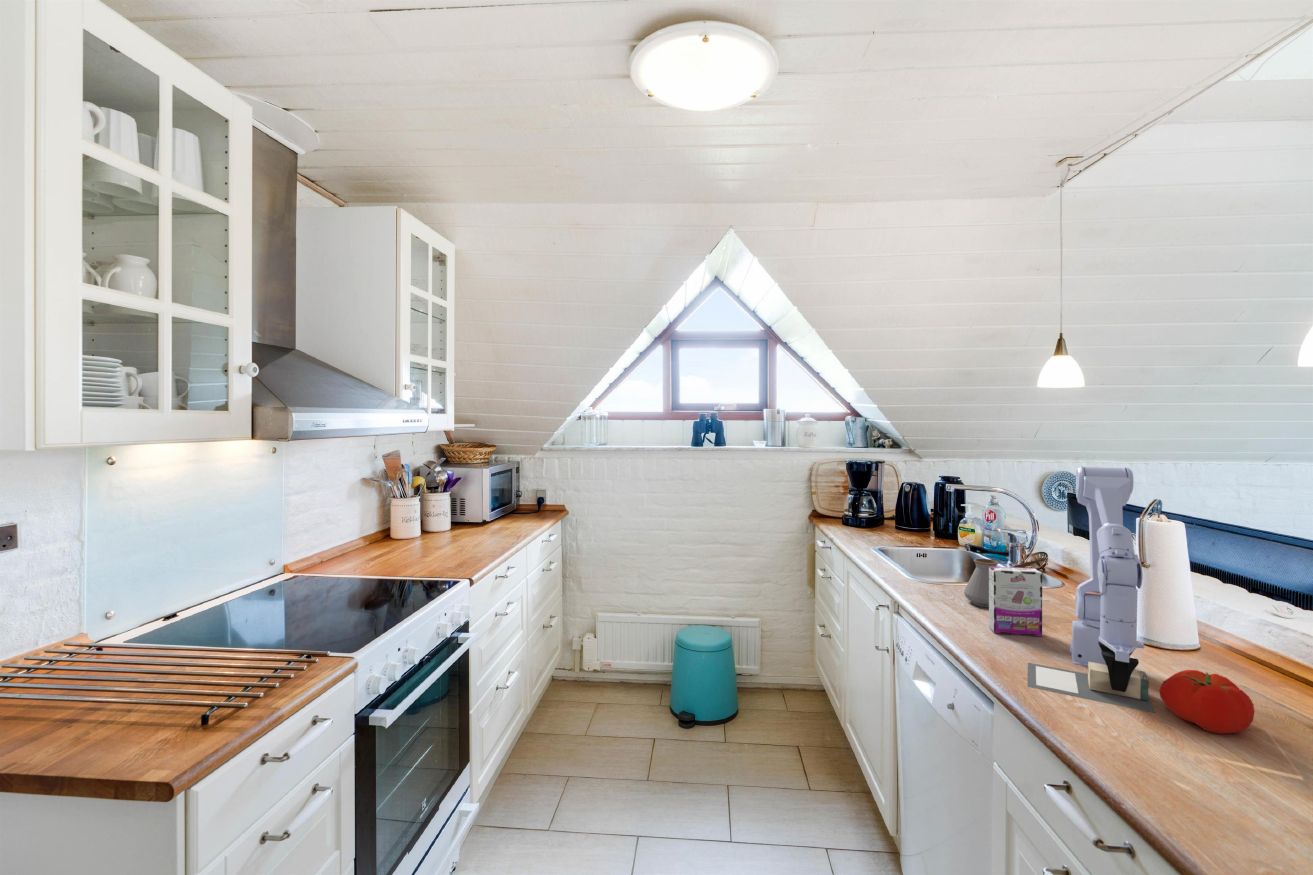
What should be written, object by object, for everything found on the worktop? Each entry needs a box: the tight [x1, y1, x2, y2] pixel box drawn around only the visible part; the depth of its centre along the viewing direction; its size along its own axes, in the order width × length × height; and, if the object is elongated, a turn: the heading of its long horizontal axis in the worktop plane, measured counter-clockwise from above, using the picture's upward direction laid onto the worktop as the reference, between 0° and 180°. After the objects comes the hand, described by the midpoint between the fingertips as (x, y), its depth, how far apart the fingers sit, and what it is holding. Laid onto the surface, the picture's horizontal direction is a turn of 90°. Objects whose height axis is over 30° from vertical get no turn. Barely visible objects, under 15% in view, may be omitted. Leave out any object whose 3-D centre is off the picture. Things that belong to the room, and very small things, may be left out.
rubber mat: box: [1026, 662, 1156, 714], centre depth 119 cm, size 20×14×1 cm
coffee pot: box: [963, 557, 1049, 608], centre depth 172 cm, size 21×12×15 cm, turn 68°
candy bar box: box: [988, 566, 1043, 637], centre depth 150 cm, size 11×5×16 cm, turn 76°
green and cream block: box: [1087, 662, 1150, 701], centre depth 116 cm, size 9×5×4 cm, turn 57°
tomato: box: [1158, 669, 1256, 735], centre depth 104 cm, size 13×12×8 cm
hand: (1116, 685), depth 116 cm, fingers closed on green and cream block, 4 cm apart
